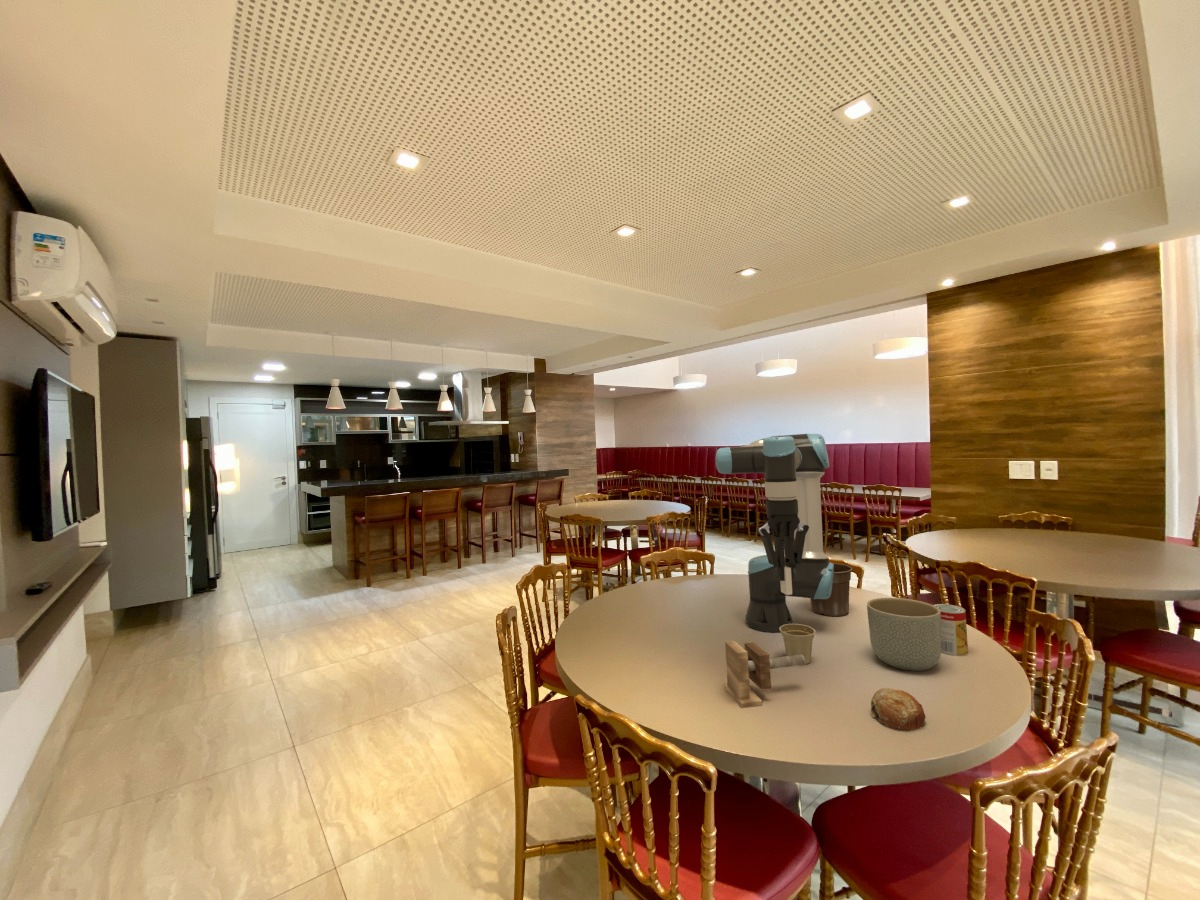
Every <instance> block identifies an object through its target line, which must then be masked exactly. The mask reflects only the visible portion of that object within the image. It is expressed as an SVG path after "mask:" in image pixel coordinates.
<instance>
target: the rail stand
mask: <svg viewBox="0 0 1200 900" xmlns="http://www.w3.org/2000/svg"><path fill="white" fill-rule="evenodd" d="M724 644H725V662H726V663H725V665H726V680H727V681H726V682H727V683H724V684H723V687H724V689H725V690H726V692H728V693H729V695H730V696H731V697H732V698H733V700H734V701H735V702H736V703H737V704H738V705H739V706H740V708H742V709H743V708H750V707H751V708H752V707H758V706H759V707H760V706H763V700H762V699H761V698H760V697H759V696H757V694H756V693H755V692H754V691H753V690H752V689H751V688H750V678H749V673H748V672H751V671H756V666H755V661H754V660H751V661H748V653H747V651H746V650H745V648H744V647H742V646H741V645H740V644H739V643H737V642H736V640H733V641H726V642H724ZM805 665H806V664H805V658H804V656H803V655H794V656H787V655H786V656H779V657H778V656H777V657H770V670H773V669H774V670H775V669H784V668H790V667H799V666H805Z"/></svg>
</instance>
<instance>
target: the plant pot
mask: <svg viewBox="0 0 1200 900" xmlns="http://www.w3.org/2000/svg"><path fill="white" fill-rule="evenodd" d="M832 563H833V564H834V575H833V584H832V591H831V595H830V597H829V598H828V599H813V598H809V599H810V605H811V610H812V612H814V613H816V614H818V615H824V616H829V617H843V616H846V615H847V614H849V613H850V608H849V607H850V582H851V576H852V571H853V566H852V567H851V566H850V565H848V564H842V563H837V562H836V563H834V562H832Z"/></svg>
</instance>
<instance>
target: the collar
mask: <svg viewBox="0 0 1200 900" xmlns="http://www.w3.org/2000/svg"><path fill="white" fill-rule="evenodd" d="M744 650H746V651H747V653H748V661H751V660H754V661H755V666H756V671H751V672H748V673H749V680H751V681H752V683H754V685H756V686H757V687H758V688H759V689H760V691H763V690H772V681H771V677H772V676H771V669H770V658H771V657H770V654H769V653H768V652H767V651H765V649H763V648H762V647H760V646H759V644H757V643H755V642H753V641H752V642H744Z"/></svg>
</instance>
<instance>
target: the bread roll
mask: <svg viewBox="0 0 1200 900" xmlns="http://www.w3.org/2000/svg"><path fill="white" fill-rule="evenodd" d="M870 701H871V702H870V710H871V717H872V718H873V719H875V720H876V721H878V722H879V723H881V724H883V725H885V726H887V727H888V728H891V729H894V730H898V731H904V730H905V731H907V732H911V730H912V731H915V730H919V729H921V728H923V726H924V724H925V722H926V721H925V720H926V714H925V711H924V708H923V705H922V704H921V703H920V702H919V701H918V700H917V699H916V698H915V697H914V696H913V695H911V694H910V693H909V692H906V691H904V690H901V689H894V688H889V687H888V688H887V687H885V688H884V687H881V688H880V689H877V690H876V691H875V693H874V694H873V696H872V697H871V700H870ZM920 727H921V728H920Z"/></svg>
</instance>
